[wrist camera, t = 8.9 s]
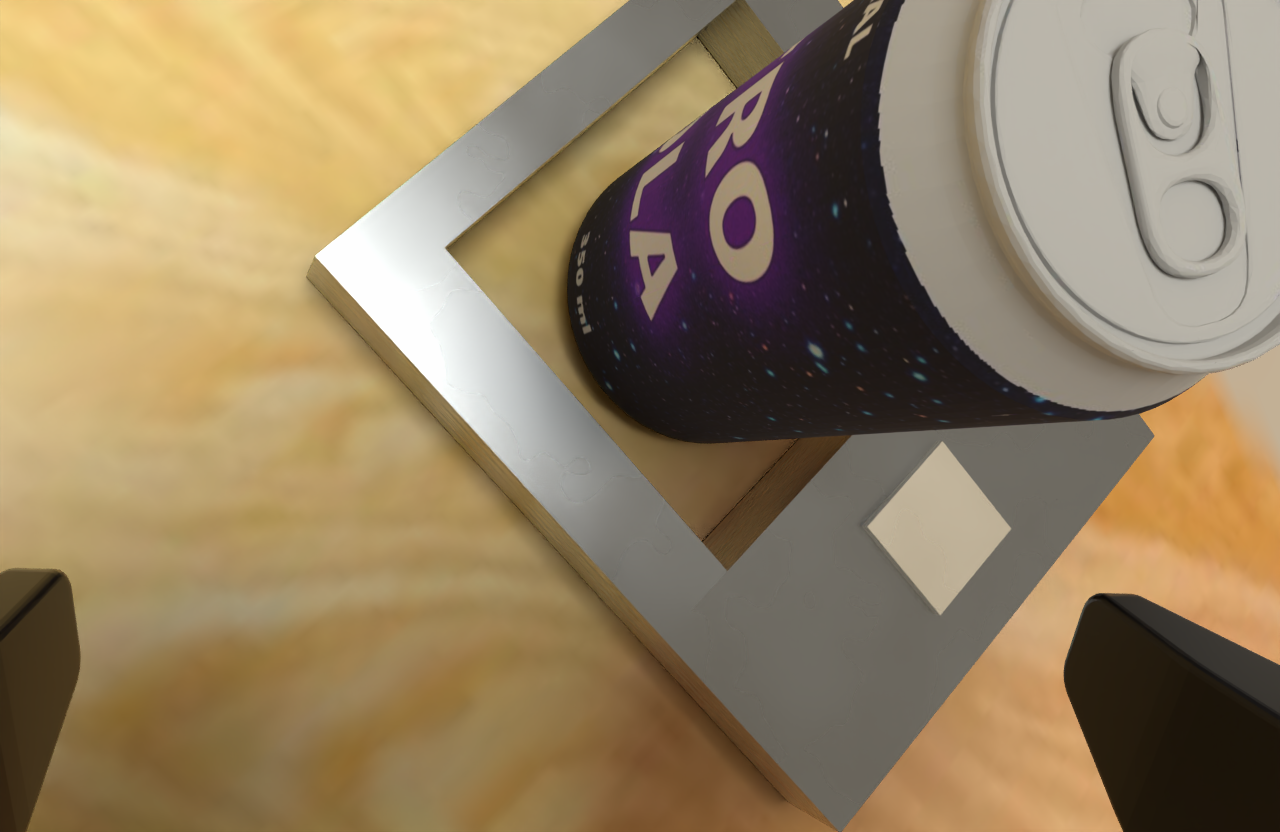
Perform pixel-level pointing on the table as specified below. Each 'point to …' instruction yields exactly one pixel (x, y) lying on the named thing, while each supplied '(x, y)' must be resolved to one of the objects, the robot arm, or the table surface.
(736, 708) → the grey flat frame
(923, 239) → the beverage can
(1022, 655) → the table surface
